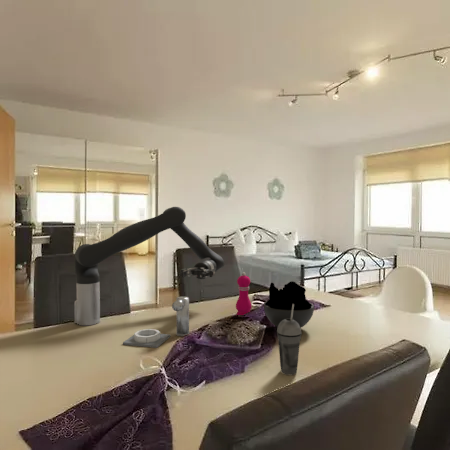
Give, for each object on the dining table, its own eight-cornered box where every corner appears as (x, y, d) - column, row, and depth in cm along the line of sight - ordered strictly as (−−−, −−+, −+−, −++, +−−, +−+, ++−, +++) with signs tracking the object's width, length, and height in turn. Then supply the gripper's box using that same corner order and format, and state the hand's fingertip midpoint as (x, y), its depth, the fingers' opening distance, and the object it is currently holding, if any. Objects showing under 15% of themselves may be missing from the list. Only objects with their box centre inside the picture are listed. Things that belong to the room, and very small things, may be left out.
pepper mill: (250, 318, 161) (250, 273, 161) (234, 317, 163) (234, 273, 162) (252, 314, 168) (252, 271, 168) (237, 313, 170) (237, 270, 169)
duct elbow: (170, 339, 135) (170, 301, 135) (178, 331, 144) (178, 295, 143) (183, 340, 134) (183, 301, 134) (191, 332, 143) (191, 296, 142)
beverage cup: (273, 366, 111) (274, 301, 110) (297, 366, 111) (297, 300, 111) (279, 377, 103) (279, 307, 103) (304, 376, 104) (305, 306, 103)
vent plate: (122, 344, 129) (122, 336, 129) (138, 333, 141) (138, 326, 141) (156, 347, 126) (156, 339, 126) (170, 336, 138) (170, 329, 138)
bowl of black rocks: (318, 325, 152) (318, 280, 151) (307, 340, 134) (308, 289, 133) (272, 319, 160) (272, 276, 160) (256, 333, 142) (256, 284, 141)
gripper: (189, 260, 168) (176, 265, 152) (219, 261, 165) (208, 266, 149) (189, 277, 168) (176, 283, 153) (219, 278, 165) (208, 285, 149)
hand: (192, 275), depth 151 cm, fingers open, 8 cm apart
